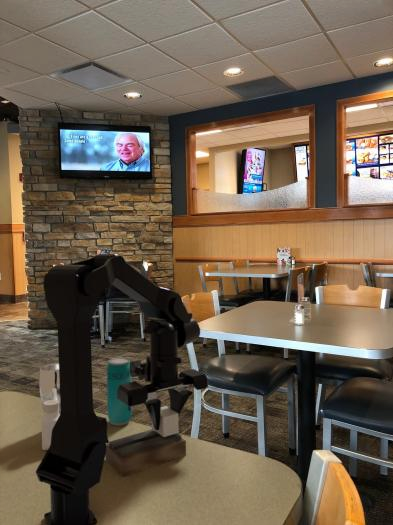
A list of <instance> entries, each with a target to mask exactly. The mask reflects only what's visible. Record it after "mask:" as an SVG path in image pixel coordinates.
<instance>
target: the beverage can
mask: <svg viewBox="0 0 393 525" xmlns="http://www.w3.org/2000/svg"><path fill="white" fill-rule="evenodd" d="M130 362H131V360H130V359H129V358H127V357H116V358H110V359H109V360H107V363H108V364H107V366H106V387H107V390H106V391H107V392H106V394H107V395H106V396H107V418H108V420H109V422H110V424H111V425H113V426H115V427H117V426H118V427H120V426H122V427H123V426H126V425H128V424H129V423H130V421H131V419H132V415H133V406H128V405H126V404H125V403H123V402H122V401H121V400H119V399H118V398H117V390H118V388H119V386H120V385H121V384H125V383H130V382H132V377H131V375H130Z"/></svg>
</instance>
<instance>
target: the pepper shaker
mask: <svg viewBox="0 0 393 525" xmlns="http://www.w3.org/2000/svg"><path fill="white" fill-rule="evenodd" d="M42 410H43V416H42V417H41V449H42V450H43V451H47V450H48V449H49V447H50V445H51V435H52V429H53V427H54V425H55V423H56V421H57V419H58V418H59V416H60V414H59V401H58V400H48V401H45V402H44V403H43V406H42Z"/></svg>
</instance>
